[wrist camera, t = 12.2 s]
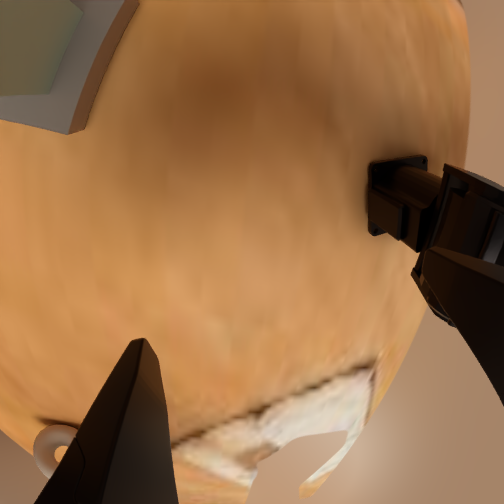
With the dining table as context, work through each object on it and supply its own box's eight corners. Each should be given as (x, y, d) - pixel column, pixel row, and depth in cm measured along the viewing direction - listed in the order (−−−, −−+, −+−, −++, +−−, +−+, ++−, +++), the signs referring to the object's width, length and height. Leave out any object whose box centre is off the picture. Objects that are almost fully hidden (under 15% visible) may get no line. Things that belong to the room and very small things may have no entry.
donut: (42, 425, 28) (36, 480, 20) (34, 414, 27) (25, 472, 18) (100, 435, 31) (99, 493, 23) (94, 425, 30) (92, 487, 21)
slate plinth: (139, 3, 12) (132, -13, 9) (84, 129, 15) (67, 134, 12) (33, -7, 8) (15, -18, 5) (-12, 108, 11) (-36, 112, 9)
